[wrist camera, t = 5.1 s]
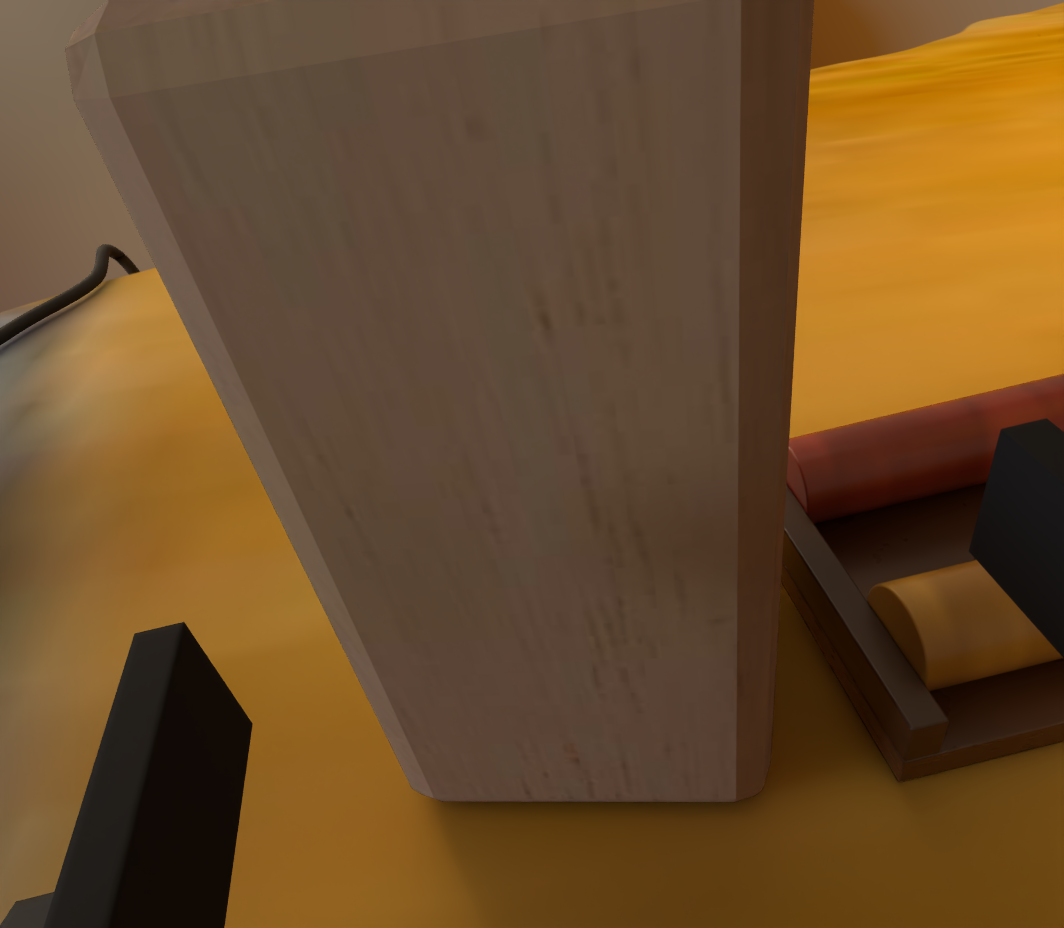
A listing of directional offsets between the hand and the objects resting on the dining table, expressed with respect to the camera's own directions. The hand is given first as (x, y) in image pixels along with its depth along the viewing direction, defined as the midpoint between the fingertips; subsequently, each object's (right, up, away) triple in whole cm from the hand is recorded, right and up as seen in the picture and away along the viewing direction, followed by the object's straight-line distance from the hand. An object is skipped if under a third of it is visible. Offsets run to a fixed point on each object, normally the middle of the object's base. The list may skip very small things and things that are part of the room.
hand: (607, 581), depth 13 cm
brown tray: (+14, -1, +13) cm, 19 cm away
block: (+1, -5, +12) cm, 13 cm away
